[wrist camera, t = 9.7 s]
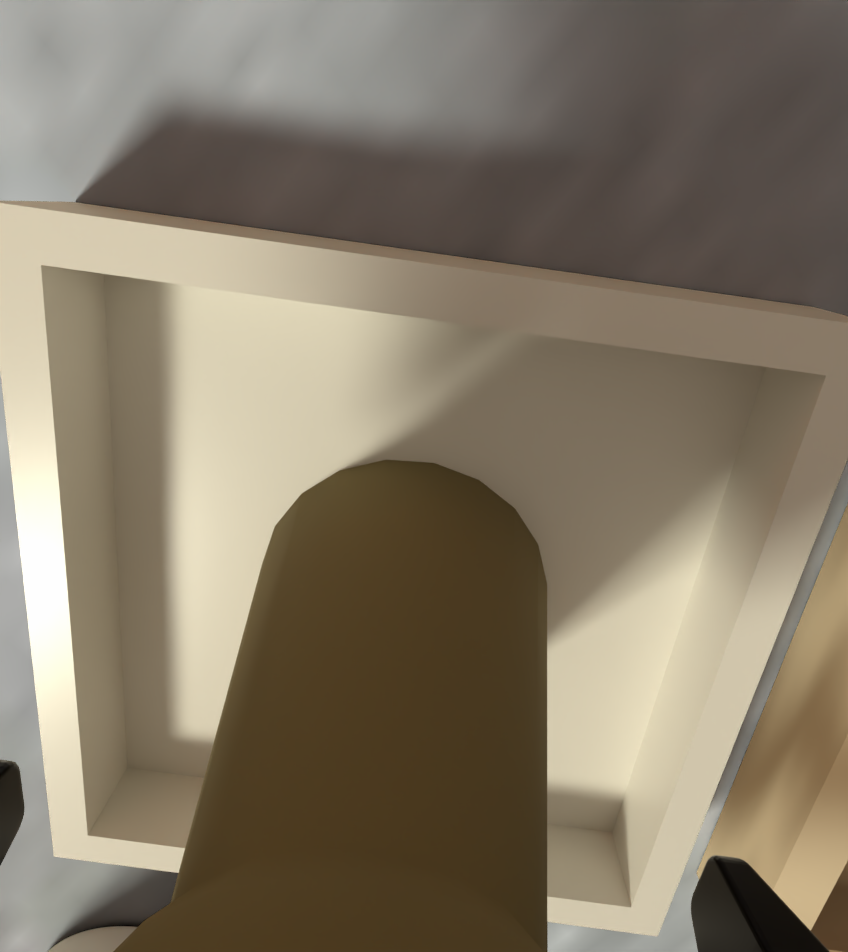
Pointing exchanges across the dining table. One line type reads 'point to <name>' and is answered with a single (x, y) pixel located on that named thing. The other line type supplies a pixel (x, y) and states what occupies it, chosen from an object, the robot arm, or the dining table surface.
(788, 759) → the wooden holder
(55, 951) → the candle
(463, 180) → the dining table surface
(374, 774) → the cork
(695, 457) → the plastic tray
